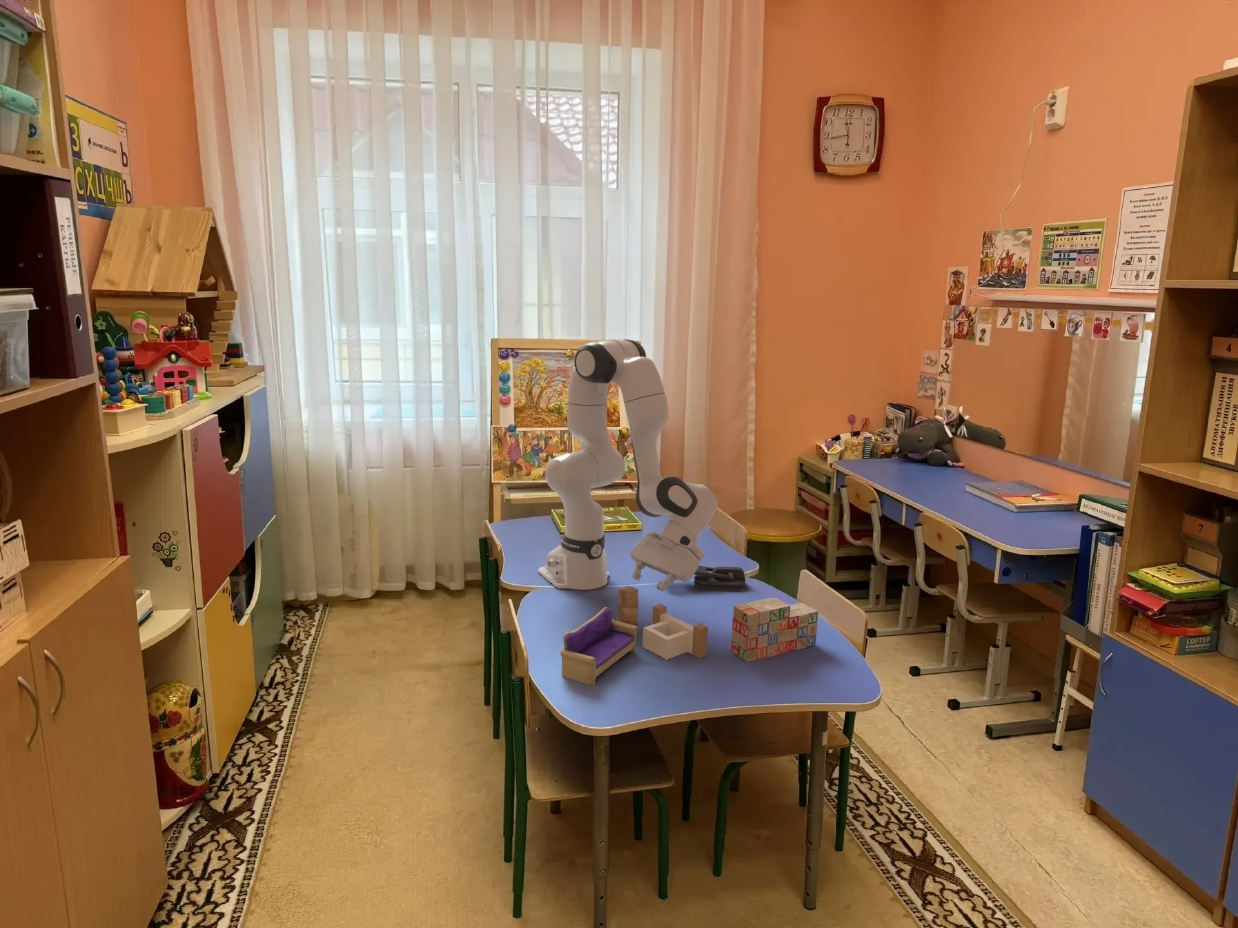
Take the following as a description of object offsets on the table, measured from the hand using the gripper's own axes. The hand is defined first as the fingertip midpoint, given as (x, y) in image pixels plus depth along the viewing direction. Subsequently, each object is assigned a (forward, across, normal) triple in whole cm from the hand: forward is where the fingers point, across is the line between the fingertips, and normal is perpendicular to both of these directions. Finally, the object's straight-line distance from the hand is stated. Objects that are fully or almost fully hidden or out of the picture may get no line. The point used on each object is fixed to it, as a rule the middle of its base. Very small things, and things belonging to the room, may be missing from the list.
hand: (646, 583), depth 212 cm
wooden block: (+12, 0, +4) cm, 13 cm away
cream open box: (+12, +14, +4) cm, 18 cm away
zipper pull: (-15, -11, +31) cm, 36 cm away
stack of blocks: (-3, +29, +20) cm, 35 cm away
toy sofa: (+25, +10, -8) cm, 28 cm away
